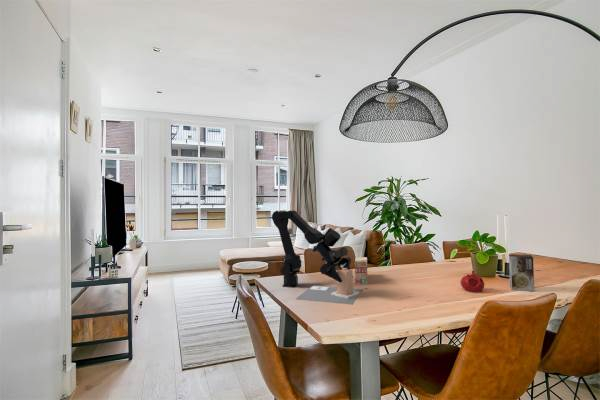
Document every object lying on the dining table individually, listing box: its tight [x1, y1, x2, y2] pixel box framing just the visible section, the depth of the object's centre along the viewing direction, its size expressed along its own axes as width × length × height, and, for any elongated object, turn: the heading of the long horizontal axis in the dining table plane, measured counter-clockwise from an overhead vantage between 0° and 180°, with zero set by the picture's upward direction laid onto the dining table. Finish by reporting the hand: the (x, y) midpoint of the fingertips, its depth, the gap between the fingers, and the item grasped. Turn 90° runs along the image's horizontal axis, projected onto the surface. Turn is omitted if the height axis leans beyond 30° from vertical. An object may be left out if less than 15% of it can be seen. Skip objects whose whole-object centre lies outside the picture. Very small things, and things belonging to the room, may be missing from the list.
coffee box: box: [508, 253, 535, 292], centre depth 158 cm, size 9×6×16 cm
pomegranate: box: [460, 270, 485, 293], centre depth 157 cm, size 10×10×9 cm
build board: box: [295, 284, 364, 306], centre depth 151 cm, size 25×25×2 cm
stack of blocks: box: [354, 256, 368, 286], centre depth 181 cm, size 21×6×12 cm, turn 169°
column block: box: [336, 268, 354, 296], centre depth 149 cm, size 5×5×12 cm
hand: (347, 279), depth 149 cm, fingers open, 9 cm apart
